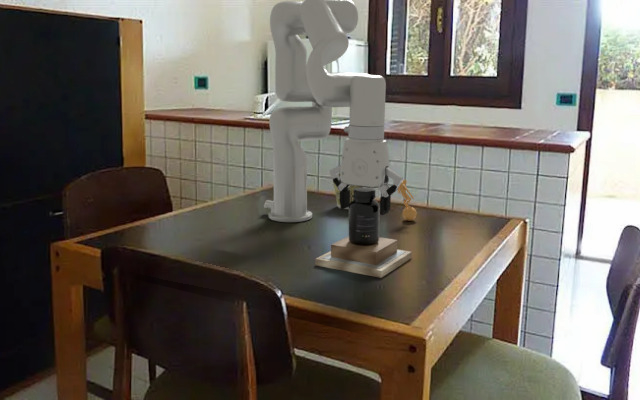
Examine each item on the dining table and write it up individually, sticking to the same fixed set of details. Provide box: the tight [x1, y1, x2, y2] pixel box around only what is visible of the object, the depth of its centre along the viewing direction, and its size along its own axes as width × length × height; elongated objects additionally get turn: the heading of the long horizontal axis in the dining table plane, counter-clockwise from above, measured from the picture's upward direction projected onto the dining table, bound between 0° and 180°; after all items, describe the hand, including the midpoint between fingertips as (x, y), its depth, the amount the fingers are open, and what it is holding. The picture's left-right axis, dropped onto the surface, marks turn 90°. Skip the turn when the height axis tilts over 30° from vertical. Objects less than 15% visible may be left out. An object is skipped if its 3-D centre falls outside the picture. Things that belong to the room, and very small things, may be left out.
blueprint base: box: [314, 235, 413, 279], centre depth 141 cm, size 16×16×4 cm
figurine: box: [396, 179, 418, 222], centre depth 177 cm, size 8×6×12 cm
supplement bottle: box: [348, 187, 381, 246], centre depth 139 cm, size 7×7×12 cm
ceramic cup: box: [332, 172, 362, 210], centre depth 193 cm, size 13×10×10 cm
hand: (364, 210), depth 139 cm, fingers open, 9 cm apart
